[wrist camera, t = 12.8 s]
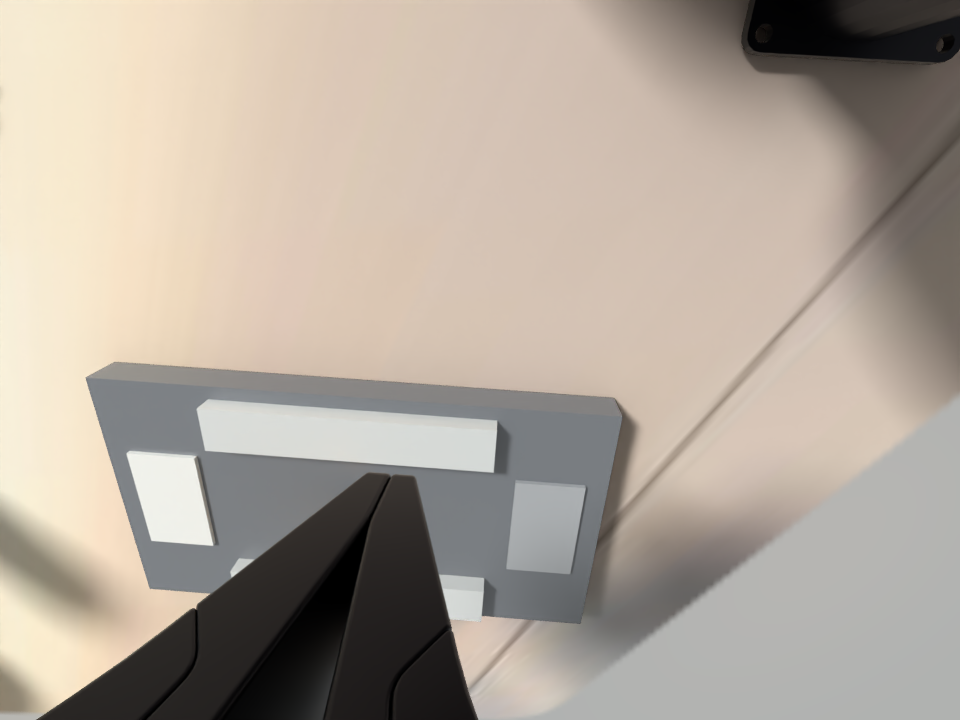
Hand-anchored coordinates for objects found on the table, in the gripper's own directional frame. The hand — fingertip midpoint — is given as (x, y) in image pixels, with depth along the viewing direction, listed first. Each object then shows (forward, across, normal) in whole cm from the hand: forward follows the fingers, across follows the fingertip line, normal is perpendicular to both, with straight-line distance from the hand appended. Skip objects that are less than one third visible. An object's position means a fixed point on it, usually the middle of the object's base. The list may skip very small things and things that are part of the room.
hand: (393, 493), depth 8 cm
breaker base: (+12, +4, +10) cm, 16 cm away
